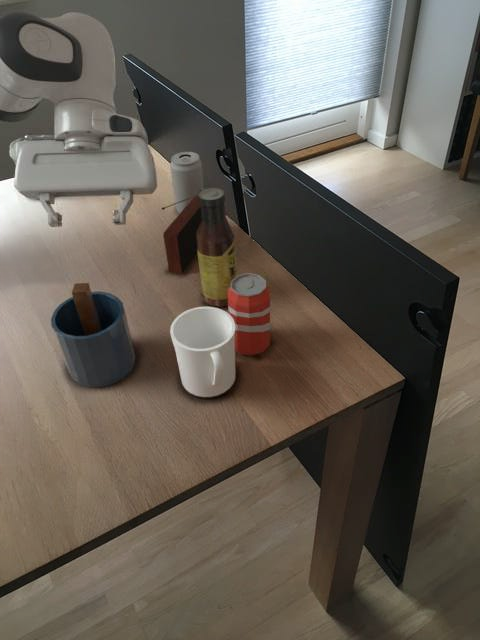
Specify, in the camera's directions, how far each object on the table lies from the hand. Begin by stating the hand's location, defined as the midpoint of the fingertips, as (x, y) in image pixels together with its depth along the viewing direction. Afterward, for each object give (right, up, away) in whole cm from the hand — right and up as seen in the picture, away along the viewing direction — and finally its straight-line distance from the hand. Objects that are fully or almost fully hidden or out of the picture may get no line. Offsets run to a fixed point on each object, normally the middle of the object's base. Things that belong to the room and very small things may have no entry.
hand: (87, 225), depth 78 cm
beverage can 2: (+24, -18, +7) cm, 31 cm away
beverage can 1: (+12, +10, +38) cm, 41 cm away
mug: (+18, -23, +1) cm, 29 cm away
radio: (+13, -1, +27) cm, 29 cm away
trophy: (+1, -20, +5) cm, 20 cm away
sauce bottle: (+19, -10, +16) cm, 27 cm away
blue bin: (+1, -20, +5) cm, 21 cm away
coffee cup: (-23, +15, +47) cm, 54 cm away
